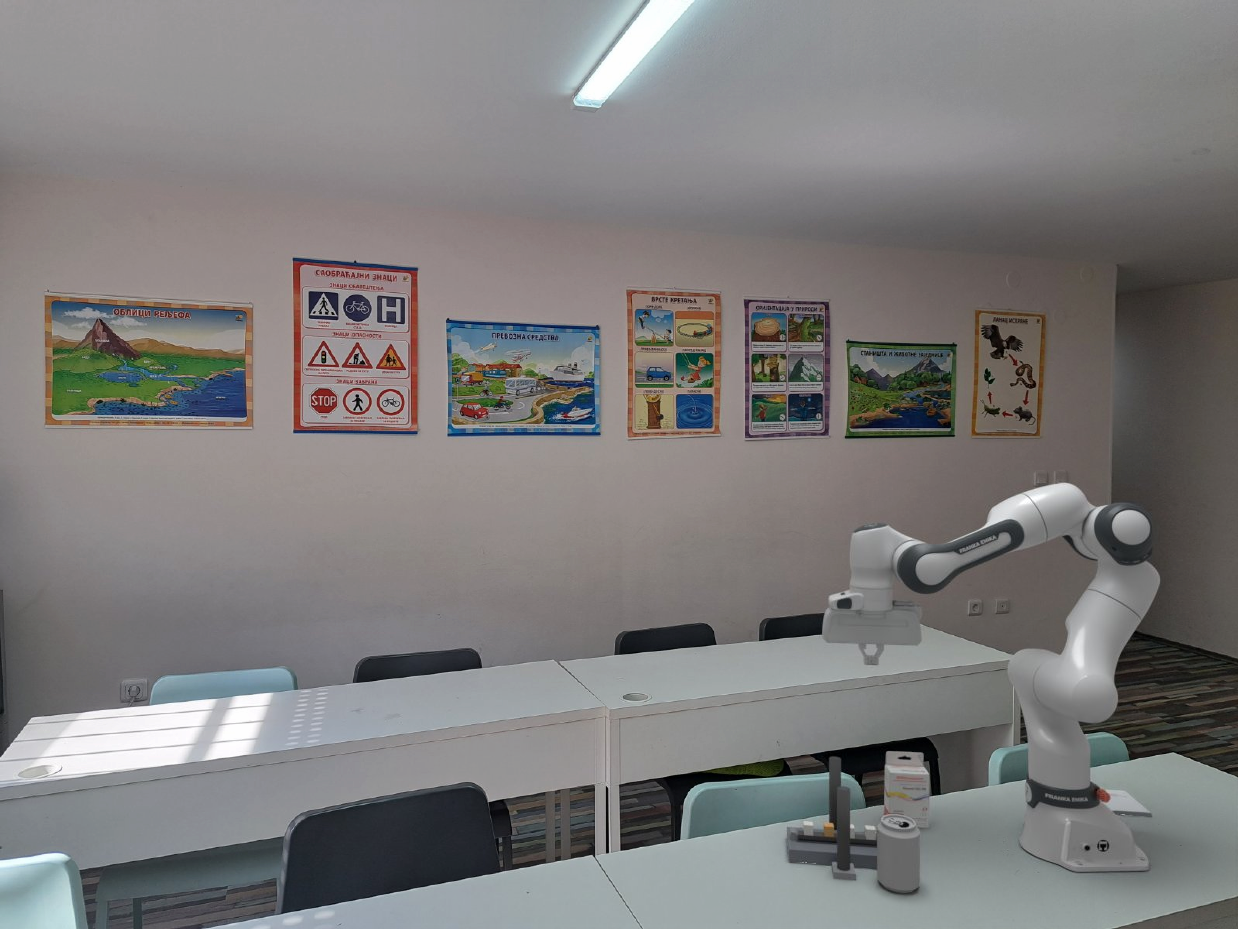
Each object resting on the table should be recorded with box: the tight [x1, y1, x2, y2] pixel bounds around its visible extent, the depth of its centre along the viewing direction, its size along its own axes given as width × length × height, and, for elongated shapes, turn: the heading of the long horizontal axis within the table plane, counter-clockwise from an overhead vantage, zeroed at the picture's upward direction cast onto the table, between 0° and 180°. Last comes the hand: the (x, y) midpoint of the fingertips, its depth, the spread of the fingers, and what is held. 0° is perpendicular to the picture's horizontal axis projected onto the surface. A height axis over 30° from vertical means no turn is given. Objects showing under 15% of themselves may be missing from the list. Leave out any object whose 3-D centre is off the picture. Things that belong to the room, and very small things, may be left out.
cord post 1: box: [828, 756, 842, 830], centre depth 171 cm, size 4×4×16 cm
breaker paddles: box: [798, 820, 877, 844], centre depth 163 cm, size 16×2×3 cm, turn 81°
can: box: [876, 814, 921, 894], centre depth 151 cm, size 8×8×12 cm
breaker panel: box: [786, 826, 877, 870], centre depth 163 cm, size 20×10×4 cm, turn 81°
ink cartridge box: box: [883, 750, 931, 829], centre depth 177 cm, size 9×5×15 cm, turn 84°
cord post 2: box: [831, 785, 857, 881], centre depth 155 cm, size 4×4×16 cm
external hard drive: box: [1100, 788, 1153, 818], centre depth 187 cm, size 2×8×12 cm
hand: (871, 664), depth 175 cm, fingers closed
